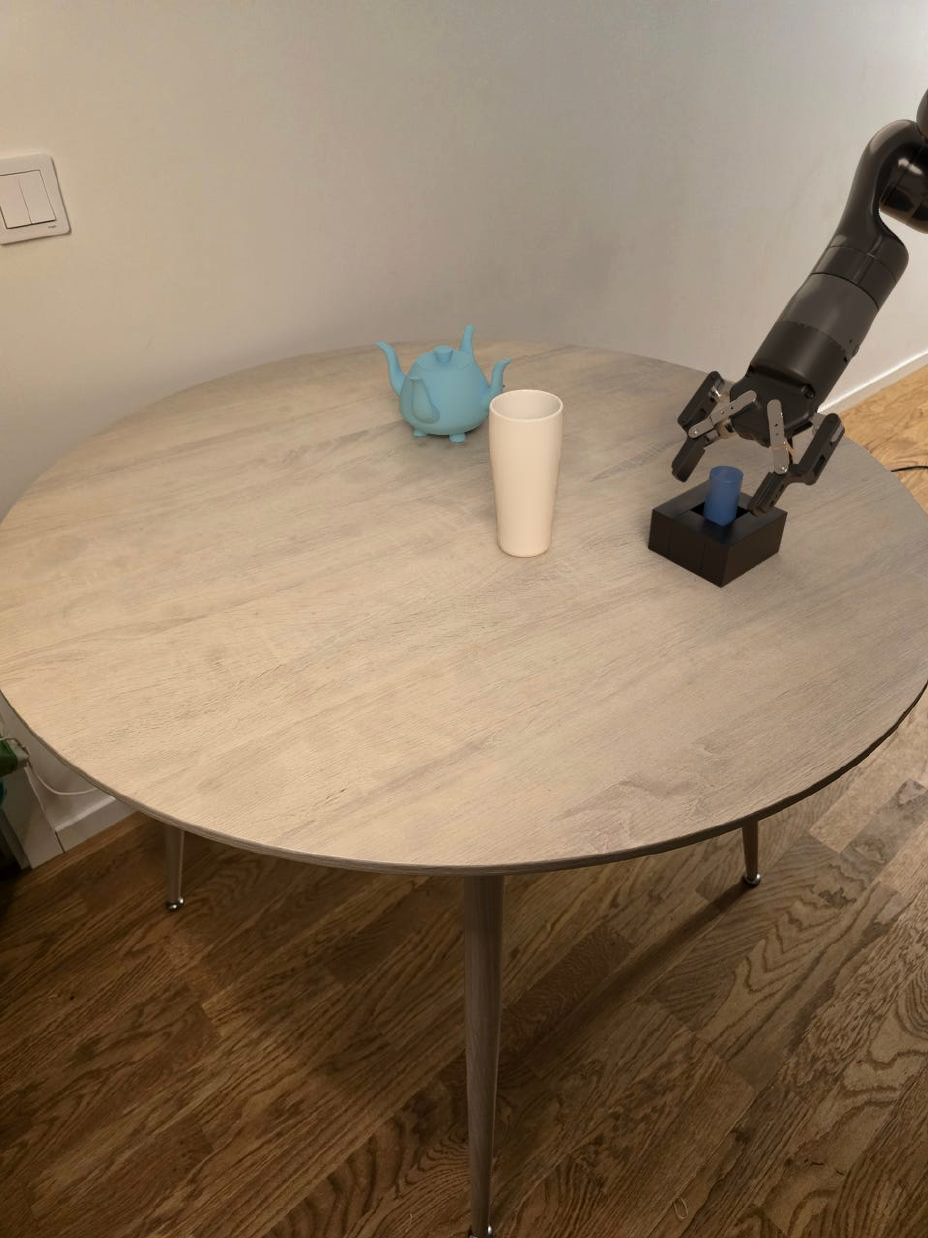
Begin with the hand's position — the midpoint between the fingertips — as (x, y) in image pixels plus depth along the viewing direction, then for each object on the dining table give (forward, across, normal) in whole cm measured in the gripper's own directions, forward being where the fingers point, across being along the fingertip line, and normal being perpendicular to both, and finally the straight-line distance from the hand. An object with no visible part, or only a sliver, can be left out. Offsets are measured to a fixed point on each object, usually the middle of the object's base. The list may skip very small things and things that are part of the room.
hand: (713, 495), depth 80 cm
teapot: (+5, -39, +4) cm, 40 cm away
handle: (+4, 0, +6) cm, 7 cm away
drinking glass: (+13, -13, -3) cm, 19 cm away
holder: (+4, 0, +6) cm, 7 cm away
